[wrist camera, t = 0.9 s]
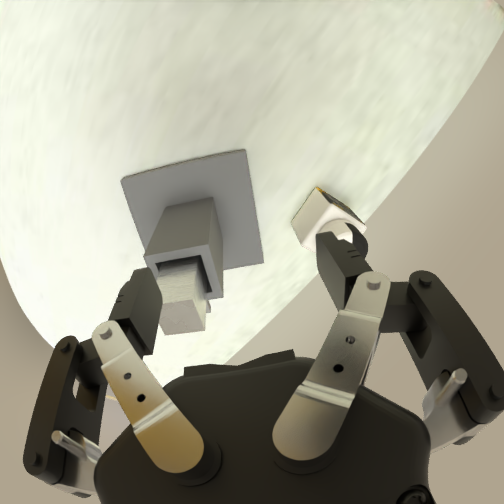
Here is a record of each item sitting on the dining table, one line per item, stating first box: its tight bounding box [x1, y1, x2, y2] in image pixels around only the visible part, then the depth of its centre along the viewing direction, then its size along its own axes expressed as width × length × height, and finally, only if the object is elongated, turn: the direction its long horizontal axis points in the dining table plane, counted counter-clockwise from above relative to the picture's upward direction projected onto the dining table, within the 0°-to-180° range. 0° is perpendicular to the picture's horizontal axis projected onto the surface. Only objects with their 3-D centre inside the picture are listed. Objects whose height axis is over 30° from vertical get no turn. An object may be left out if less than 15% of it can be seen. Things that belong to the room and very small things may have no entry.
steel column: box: [156, 255, 208, 335], centre depth 32 cm, size 4×4×18 cm
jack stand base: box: [121, 150, 264, 313], centre depth 35 cm, size 18×18×14 cm
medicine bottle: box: [291, 187, 368, 259], centre depth 37 cm, size 7×7×12 cm
